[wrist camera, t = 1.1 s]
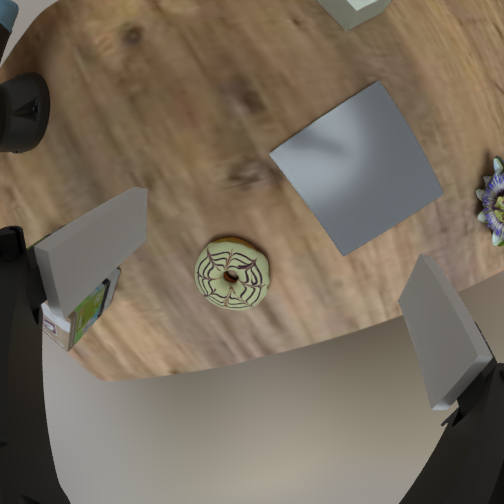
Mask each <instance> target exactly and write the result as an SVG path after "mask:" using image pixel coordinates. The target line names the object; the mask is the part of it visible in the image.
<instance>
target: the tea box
mask: <svg viewBox="0 0 504 504" xmlns="http://www.w3.org/2000/svg"><path fill="white" fill-rule="evenodd" d="M60 228H61V227H60ZM60 228H59V229H60ZM57 230H58V229H57ZM55 231H56V230H55ZM55 231H53V232H55ZM53 232H52V233H53ZM52 233H50V234H52ZM50 234H48V235H47V236H45V237H48V236H49V235H50ZM45 237H44V238H45ZM44 238H42V239H44ZM42 239H40V240H39V241H41V240H42ZM39 241H37V242H36V243H38V242H39ZM36 243H34V244H33V245H35V244H36ZM33 245H31V246H30V247H28V248H27V250H28V249H29V248H31V247H32V246H33ZM120 271H121V270H119V269H117V268H116V269H115V270H114V271H113V272H112V273H111V274H110V275H109V276H108V277H107V278H106V279H105V280H104V281H102V282H101V283H100V284H99V285H98V286H97V287H96V288H95V289H94V290H93V291H92V292H91V293H90V294H89V295H88V296H87V297H86V298H85V299H84V300H83V301H82V302H81V303H80V304H79V305H78V306H77V307H76V308H75V309H74V311H73V312H72V313H71V314H70V315H69V316H68V317H67V318H66V319H65V320H64V319H62V318H60V317H58V316H56V315H54V314H52V313H51V312H50V309H49V306H48V302H47V300H46V301H45V302H44V303H43V304H42V305H41V306H42V309H43V328H42V331H44V332H45V333H46V334H47V335H48V336H49V337H50V338H51V339H53V340H54V341H55V342H56V343H57V344H59V345H60V346H61V347H62V348H63V349H65V350H66V351H67V352H68V351H69V350H70V349H71V348H72V347H73V346H74V345H75V344H76V343H77V341H78V340H79V339H80V338H81V337H82V336H83V335H84V333H85V332H86V331H87V330H88V329H89V328H90V327H91V326H92V324H93V323H94V322H95V321H96V320H97V319H98V318H99V317H100V316H101V314H102V313H103V312H104V311H105V310H106V309H107V308H108V307H109V306H110V304H111V301H112V297H113V293H114V290H115V287H116V284H117V281H118V278H119V274H120Z"/></svg>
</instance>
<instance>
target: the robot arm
mask: <svg viewBox="0 0 504 504" xmlns="http://www.w3.org/2000/svg"><path fill="white" fill-rule="evenodd" d="M18 10H19V9H18V5H17V4H16V3H15V2H13V1H11V0H0V62H1V58H2V56H3V52H4V50H5V47H6V44H7V41H8V39H9V36H10V35H11V33H12V27H13V25H14V22H15V19H16V17H17V14H18ZM48 117H49V93H48V89H47V86H46V83H45V81H44V79H43V78H42V77H41V76H40V75H39V74H37V73H23V74H19V75H17V76H15V77H14V78H13V79H10V80H8V81H6V82H3V83H1V84H0V152H12V153H23V152H26V151H29V150H32V149H33V148H35V147H36V146H37V145H38V143H39V142H40V140H41V139H42V137H43V135H44V132H45V129H46V126H47V122H48ZM147 193H148V189H145V188H139V187H133V188H131V189H129V190H127V191H125V192H123V193H121V194H119V195H118V196H116V197H114V198H112V199H110V200H108V201H107V202H105V203H103V204H101V205H99V206H98V207H96V208H94V209H92V210H91V211H89V212H87V213H85V214H84V215H82V216H80V217H79V218H77V219H75V220H74V221H72V222H70V223H69V224H67V225H65V226H63V227H61V228H60V229H58V230H56V231H55V232H53V233H52V234H50V235H49V236H48V237H45V238H44V239H42V240H41V241H39V242H38V243H36V244H35V245H33V246H32V247H31V248H29V249H28V250H27V249H26V244H25V239H24V234H23V229H22V228H21V227H19V226H8V227H4V228H2V229H0V504H70V501H69V499H68V497H67V496H66V494H65V493H64V491H63V490H62V488H61V486H60V484H59V481H58V478H57V474H56V470H55V465H54V461H53V456H52V451H51V446H50V440H49V434H48V427H47V420H46V411H45V402H44V389H43V371H42V328H43V309H42V306H41V305H42V304H43V303H44V302H45V301H46V300H47V302H48V306H49V309H50V312H51V313H52V314H54V315H56V316H58V317H60V318H62V319H64V320H65V319H66V318H67V317H68V316H69V315H70V314H71V313H72V312H73V311H74V309H75V308H76V307H77V306H78V305H79V304H80V303H81V302H82V301H83V300H84V299H85V298H86V297H87V296H88V295H89V294H90V293H91V292H92V291H93V290H94V289H95V288H96V287H97V286H98V285H99V284H100V283H101V282H102V281H104V280H105V279H106V278H107V277H108V276H109V275H110V274H111V273H112V272H113V271H114V270H115V269H116V268H117V267H118V266H119V265H120V264H121V263H122V262H124V261H125V260H126V259H127V258H128V257H129V256H130V255H131V254H132V253H133V252H134V251H135V250H137V249H138V248H139V247H140V246H141V245H142V244H143V243H144V242H145V241H147ZM398 302H399V305H400V307H401V310H402V313H403V316H404V318H405V321H406V324H407V327H408V330H409V333H410V336H411V339H412V342H413V345H414V348H415V351H416V355H417V358H418V361H419V365H420V368H421V371H422V375H423V379H424V382H425V386H426V390H427V394H428V398H429V402H430V406H431V410H447V409H448V408H449V407H450V406H451V405H452V404H453V403H454V402H455V401H456V400H457V401H458V405H459V407H458V408H457V409H456V410H455V411H454V412H453V413H452V414H451V415H450V416H449V417H448V418H447V419H446V420H445V421H444V422H443V423H442V424H441V426H444V425H445V423H448V425H447V427H446V428H445V431H444V432H443V434H442V436H441V438H440V440H439V442H438V444H437V446H436V448H435V449H434V451H433V453H432V455H431V456H430V458H429V460H428V461H427V463H426V465H425V466H424V468H423V469H422V471H421V473H420V474H419V476H418V477H417V479H416V480H415V482H414V483H413V485H412V486H411V488H410V489H409V491H408V492H407V493H406V495H405V496H404V498H403V499H402V500H401V502H400V503H399V504H504V363H497V361H496V359H495V357H494V355H493V354H492V351H491V350H490V347H489V346H488V344H487V342H486V341H485V338H484V336H483V335H482V334H481V333H482V332H481V331H480V329H479V327H478V325H477V324H476V323H475V321H474V320H473V319H472V317H471V316H470V314H469V312H468V310H467V309H466V307H465V305H464V304H463V302H462V300H461V299H460V297H459V296H458V294H457V292H456V291H455V289H454V288H453V286H452V285H451V283H450V282H449V280H448V279H447V277H446V276H445V274H444V273H443V271H442V270H441V268H440V267H439V265H438V264H437V262H436V261H435V260H434V258H433V257H430V256H427V255H424V254H420V255H419V257H418V260H417V262H416V264H415V267H414V269H413V271H412V273H411V275H410V277H409V280H408V282H407V284H406V286H405V288H404V290H403V292H402V294H401V296H400V298H399V300H398Z"/></svg>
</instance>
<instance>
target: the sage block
mask: <svg viewBox="0 0 504 504" xmlns="http://www.w3.org/2000/svg"><path fill="white" fill-rule="evenodd" d="M316 1H317V2H318V3H319V4H320V5H321V6H322V7H323V8H324V9H325V10H326V11H327V12H328V13H329V14H330V15H331V16H332V17H333V18H334V19H335V20H336V21H337V22H338V23H339V24H340V25H341V27H342V28H343V29H344V30H345V31H346V32H347V31H349V30H350V29H352V28H354V27H356V26H358V25H359V24H361V23H363V22H365V21H367V20H369V19H371V18H373V17H375V16H377V15H379V14H381V13H383V11H384V10H385V9H386V8H387V6H388V5H389V4H390V3H391V1H392V0H316Z"/></svg>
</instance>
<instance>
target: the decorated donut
mask: <svg viewBox="0 0 504 504" xmlns="http://www.w3.org/2000/svg"><path fill="white" fill-rule="evenodd" d="M228 270H233V271H235V272H236V273H237V275H238V276H239V278H238V280H232V279H231V278H229V277H228V276H227V275H226V271H228ZM195 281H196V284H197V287H198V289H199V291H200V292H201V293H202V294H203V296H204V297H205V298H206V299H207V300H209V301H210V302H211V303H212V304H214V305H216V306H218V307H221V308H225V309H231V310H238V311H243V310H248V309H250V308H252V307H254V306H255V305H257V304H258V303H259V302H260V301H261V300H262V299H263V298H264V297H265V296H266V295H267V292H268V288H269V283H270V278H269V270H268V261H267V259H266V257H265V256H264V255H263V254H262V253H260V252H258V250H257V249H256V248H254V247H253V246H252V245H250V244H249V243H247V242H245V241H243V240H241V239H239V238H235V237H229V238H222V239H218V240H216V241H214V242H210V243H209V244H208V245H207V246H206V248H205V249H204V250H203V251H202V252H201V254H200V256H199V258H198V260H197V262H196V265H195Z"/></svg>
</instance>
